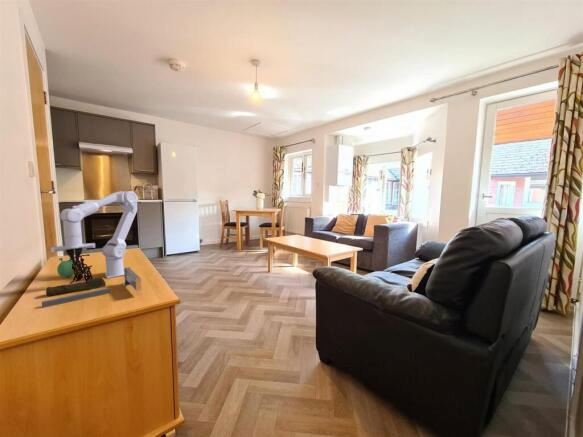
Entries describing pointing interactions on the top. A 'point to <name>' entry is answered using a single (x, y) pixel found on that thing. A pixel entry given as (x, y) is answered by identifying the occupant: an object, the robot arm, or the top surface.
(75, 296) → the bar
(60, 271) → the alien toy
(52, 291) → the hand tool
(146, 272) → the top surface
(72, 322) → the top surface
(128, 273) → the swing gate
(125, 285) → the gate base
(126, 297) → the top surface
